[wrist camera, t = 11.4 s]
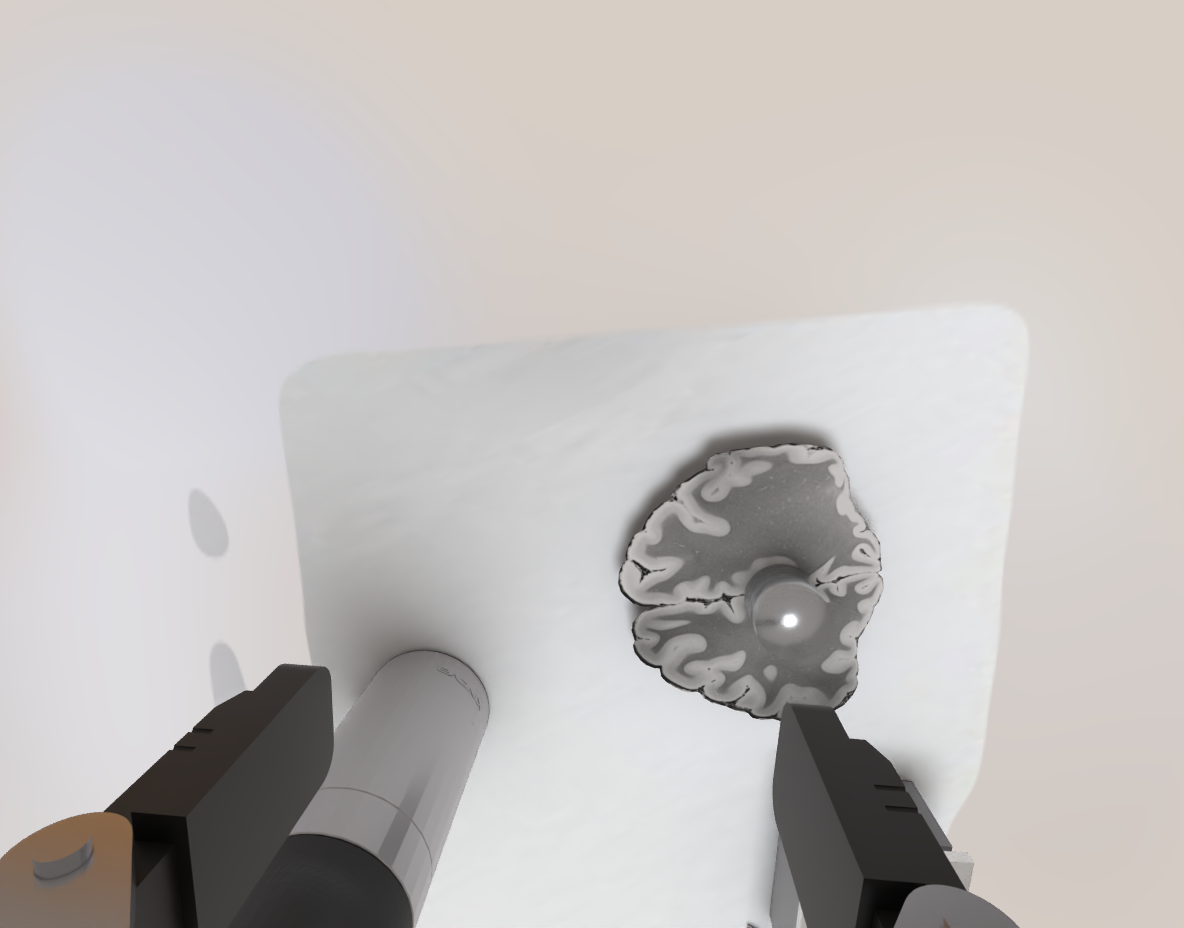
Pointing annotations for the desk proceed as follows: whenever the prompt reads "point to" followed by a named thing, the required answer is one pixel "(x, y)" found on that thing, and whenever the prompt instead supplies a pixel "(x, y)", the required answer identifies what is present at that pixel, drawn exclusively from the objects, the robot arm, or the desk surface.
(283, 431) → the desk surface
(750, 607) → the cylinder
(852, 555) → the brain slice
